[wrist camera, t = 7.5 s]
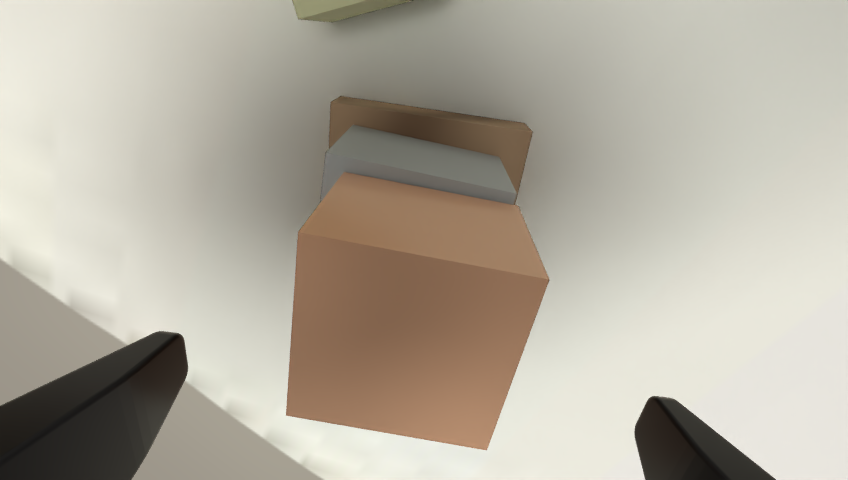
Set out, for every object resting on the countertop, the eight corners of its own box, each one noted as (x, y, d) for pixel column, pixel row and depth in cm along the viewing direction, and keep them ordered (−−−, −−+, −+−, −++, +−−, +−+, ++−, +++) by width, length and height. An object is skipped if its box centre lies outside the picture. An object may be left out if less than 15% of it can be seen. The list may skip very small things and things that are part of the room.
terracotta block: (518, 206, 13) (549, 279, 9) (476, 343, 16) (486, 450, 12) (343, 171, 13) (297, 232, 9) (328, 316, 16) (286, 415, 11)
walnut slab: (522, 120, 19) (532, 131, 17) (486, 273, 23) (491, 300, 20) (343, 94, 19) (330, 102, 17) (335, 252, 22) (323, 277, 20)
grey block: (499, 156, 17) (516, 193, 13) (462, 280, 20) (468, 343, 16) (353, 124, 17) (325, 152, 13) (335, 255, 20) (307, 312, 16)
